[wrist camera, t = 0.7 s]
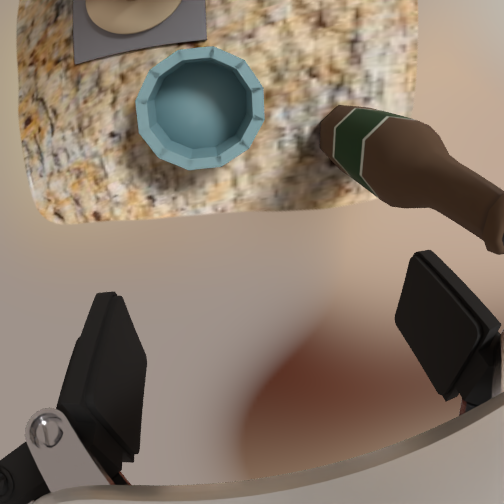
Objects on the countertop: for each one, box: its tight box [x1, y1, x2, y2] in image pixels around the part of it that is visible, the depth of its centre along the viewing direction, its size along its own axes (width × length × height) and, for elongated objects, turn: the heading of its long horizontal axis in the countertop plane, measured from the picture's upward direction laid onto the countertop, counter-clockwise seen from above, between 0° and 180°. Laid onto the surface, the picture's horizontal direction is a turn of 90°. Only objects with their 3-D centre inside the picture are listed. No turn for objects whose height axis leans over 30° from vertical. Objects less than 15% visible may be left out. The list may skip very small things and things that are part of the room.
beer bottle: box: [320, 105, 504, 255], centre depth 22 cm, size 8×8×24 cm
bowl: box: [135, 46, 264, 170], centre depth 27 cm, size 11×11×6 cm
